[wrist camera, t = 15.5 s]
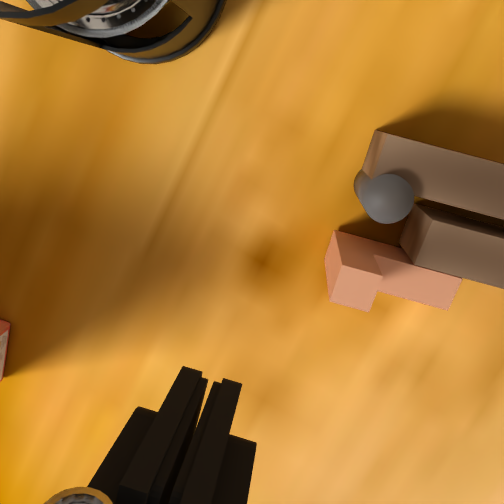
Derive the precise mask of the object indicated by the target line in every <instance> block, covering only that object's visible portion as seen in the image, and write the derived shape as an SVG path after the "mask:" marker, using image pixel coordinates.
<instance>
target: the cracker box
mask: <svg viewBox="0 0 504 504" xmlns="http://www.w3.org/2000/svg"><path fill="white" fill-rule="evenodd" d="M10 325H11V324H10V323H8V322H6V321H3V320H0V381H2V379H3V373H4V367H5V360H6V353H7V346H8V339H9V331H10Z"/></svg>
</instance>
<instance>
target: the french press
mask: <svg viewBox="0 0 504 504" xmlns="http://www.w3.org/2000/svg"><path fill="white" fill-rule="evenodd" d="M26 1H27V2H28V3H29V4H30V5H31V6H32V7H33V8H34V9H35V10H32V11H27V10H25V9H22V8H19V7H16V6H13V5H10V4H7V3H5V2H2V1H0V19H3V20H6V21H10V22H13V23H17V24H20V25H23V26H27V27H30V28H34V29H37V30H40V31H44V32H47V33H51V34H54V35H57V36H61V37H64V38H68V39H71V40H74V41H78V42H81V43H85V44H88V45H91V46H95V47H98V48H102V49H105V50H107V51H108V52H110V53H112V54H114V55H116V56H118V57H120V58H122V59H124V60H128V61H132V62H136V63H140V64H160V63H165V62H170V61H173V60H176V59H178V58H180V57H182V56H185V55H187V54H188V53H189V52H191V51H192V50H193V49H195V48H196V47H198V46H199V45H200V44H201V43H202V42H203V41H204V39H205V38H206V37H207V36H208V35H209V34H210V33H211V31H212V29H213V28H214V26H215V25H216V23H217V21H218V20H219V18H220V16H221V13H222V10H223V8H224V5H225V2H226V0H171V1H172V2H173V3H175V4H176V5H177V6H178V7H180V8H181V9H182V10H183V11H185V12H186V13H187V14H188V15H189V17H188V18H187V19H186V20H185V21H184V22H183V23H182V24H181V25H180V26H179V27H177V28H176V29H175V30H173V31H172V32H169V33H167V34H165V35H163V36H160V37H155V38H136V37H132V36H128V35H126V34H125V33H127V32H129V31H131V30H133V29H136V28H138V27H140V26H142V25H143V24H144V23H145V22H147V21H148V20H149V19H151V18H152V17H154V16H155V15H156V14H157V13H158V12H159V11H160V10H161V9H162V8H163V7H164V6H165V5H166V4H167V3H168V2H169V0H26Z"/></svg>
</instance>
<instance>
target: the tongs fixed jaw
mask: <svg viewBox="0 0 504 504" xmlns="http://www.w3.org/2000/svg"><path fill="white" fill-rule="evenodd" d="M354 190H355V193H356V195H357V197H358V198H359V200H360V202H361V204H362V205H363V207H364V209H365V211H366V212H367V214H368V215H369V216H370V217H371V218H372V219H373V220H375V221H377V222H379V223H384V224H390V223H395V222H398V221H400V220H401V219H403V218H404V217H405V216H407V215H408V213H409V212H410V210H411V209H412V207H413V203H414V196H417V197H421V198H425V199H428V200H432V201H436V202H440V203H443V204H447V205H451V206H454V207H458V208H462V209H466V210H469V211H473V212H477V213H481V214H484V215H488V216H492V217H495V218H499V219H503V220H504V164H502V163H498V162H494V161H491V160H487V159H483V158H479V157H476V156H472V155H468V154H464V153H460V152H457V151H453V150H449V149H445V148H441V147H438V146H434V145H430V144H426V143H423V142H419V141H415V140H411V139H407V138H404V137H400V136H396V135H392V134H388V133H385V132H381V131H377V130H375V131H374V134H373V137H372V140H371V143H370V146H369V149H368V152H367V155H366V158H365V161H364V164H363V167H362V169H361V170H360V171H359V172H358V174H357V175H356V177H355V180H354Z"/></svg>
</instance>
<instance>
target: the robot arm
mask: <svg viewBox="0 0 504 504" xmlns="http://www.w3.org/2000/svg"><path fill="white" fill-rule="evenodd" d="M207 383H208V379H205V378H202V371H198V370H195V369H192V368H188V367H185V366H183V367H182V368H181V370H180V372H179V374H178V376H177V378H176V380H175V381H174V383H173V385H172V387H171V389H170V391H169V393H168V395H167V396H166V398H165V400H164V402H163V404H162V406H161V408H160V409H159V411H158V412H155V411H152V410H149V409H146V408H142V407H137V408H136V409H135V411H134V412H133V414H132V415H131V417H130V419H129V420H128V422H127V424H126V425H125V427H124V428H123V430H122V432H121V433H120V435H119V436H118V438H117V440H116V441H115V443H114V444H113V446H112V448H111V449H110V451H109V452H108V454H107V456H106V457H105V459H104V461H103V462H102V464H101V465H100V467H99V469H98V470H97V472H96V473H95V475H94V477H93V478H92V480H91V481H90V483H89V485H88V486H87V487H75V488H70V489H66V490H64V491H62V492H59V493H57V494H55V495H54V496H52V497H51V498H50V499H49V500H48V501H46V502H45V503H44V504H247V500H248V494H249V488H250V482H251V476H252V470H253V464H254V458H255V452H256V445H257V444H256V442H253V441H250V440H246V439H243V438H240V437H237V436H233V435H230V434H229V432H230V429H231V425H232V421H233V417H234V414H235V410H236V406H237V402H238V398H239V395H240V391H241V387H242V384H241V383H238V382H235V381H231V380H228V379H225V378H223V380H222V383H219V382H215V381H214V383H213V385H212V388H211V390H210V393H209V396H208V398H207V401H206V404H205V406H204V409H203V412H202V414H201V417H200V419H199V422H198V418H199V414H200V410H201V406H202V402H203V399H204V395H205V391H206V387H207ZM197 422H198V425H197ZM196 426H197V427H196Z"/></svg>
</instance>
